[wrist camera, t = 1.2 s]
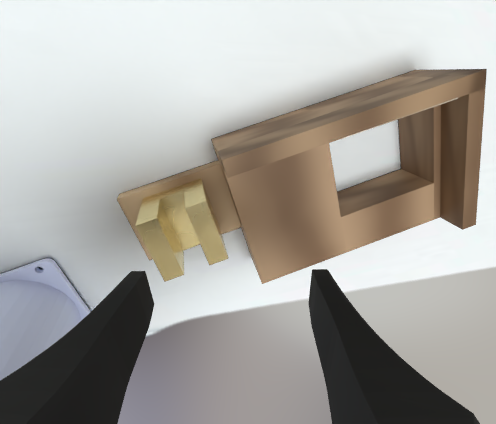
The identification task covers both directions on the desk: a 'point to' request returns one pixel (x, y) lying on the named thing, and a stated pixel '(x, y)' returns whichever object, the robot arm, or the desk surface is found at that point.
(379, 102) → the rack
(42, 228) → the desk surface
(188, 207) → the clip
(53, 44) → the desk surface
